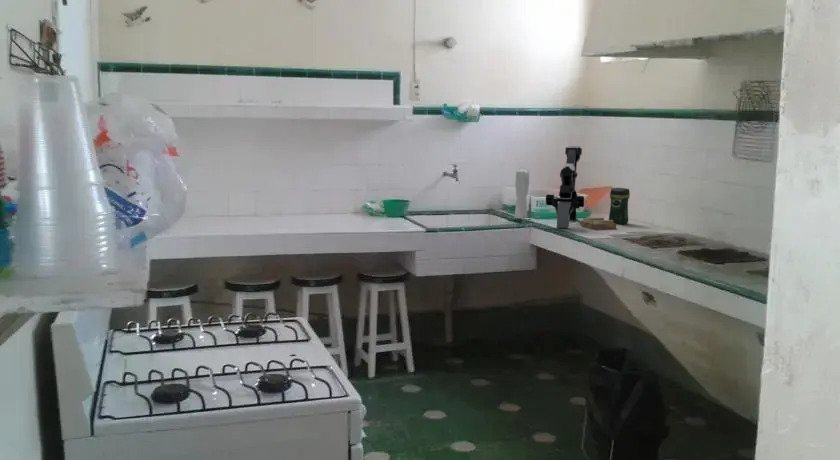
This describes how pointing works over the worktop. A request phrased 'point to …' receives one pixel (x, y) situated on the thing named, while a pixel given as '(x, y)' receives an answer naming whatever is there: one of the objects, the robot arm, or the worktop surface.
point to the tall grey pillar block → (563, 214)
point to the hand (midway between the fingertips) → (563, 214)
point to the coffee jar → (619, 205)
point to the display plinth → (597, 223)
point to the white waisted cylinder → (522, 194)
